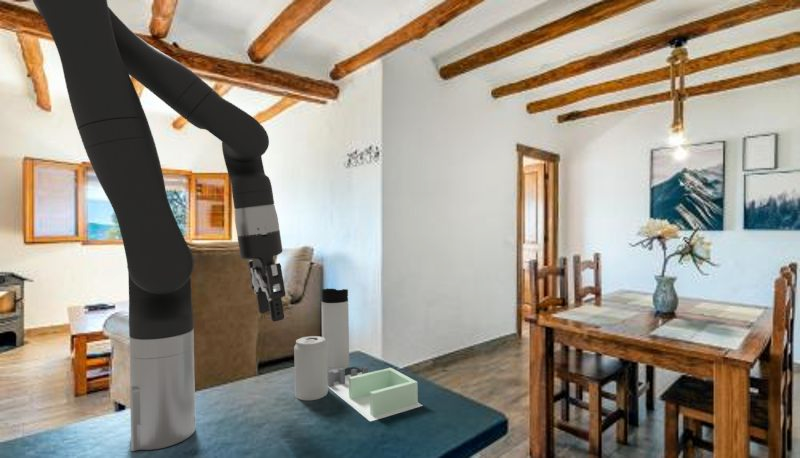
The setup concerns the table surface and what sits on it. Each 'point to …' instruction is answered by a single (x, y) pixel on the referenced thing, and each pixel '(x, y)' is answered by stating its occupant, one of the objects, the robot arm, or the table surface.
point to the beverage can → (310, 368)
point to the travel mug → (336, 327)
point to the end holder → (384, 390)
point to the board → (362, 404)
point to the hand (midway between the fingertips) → (271, 316)
